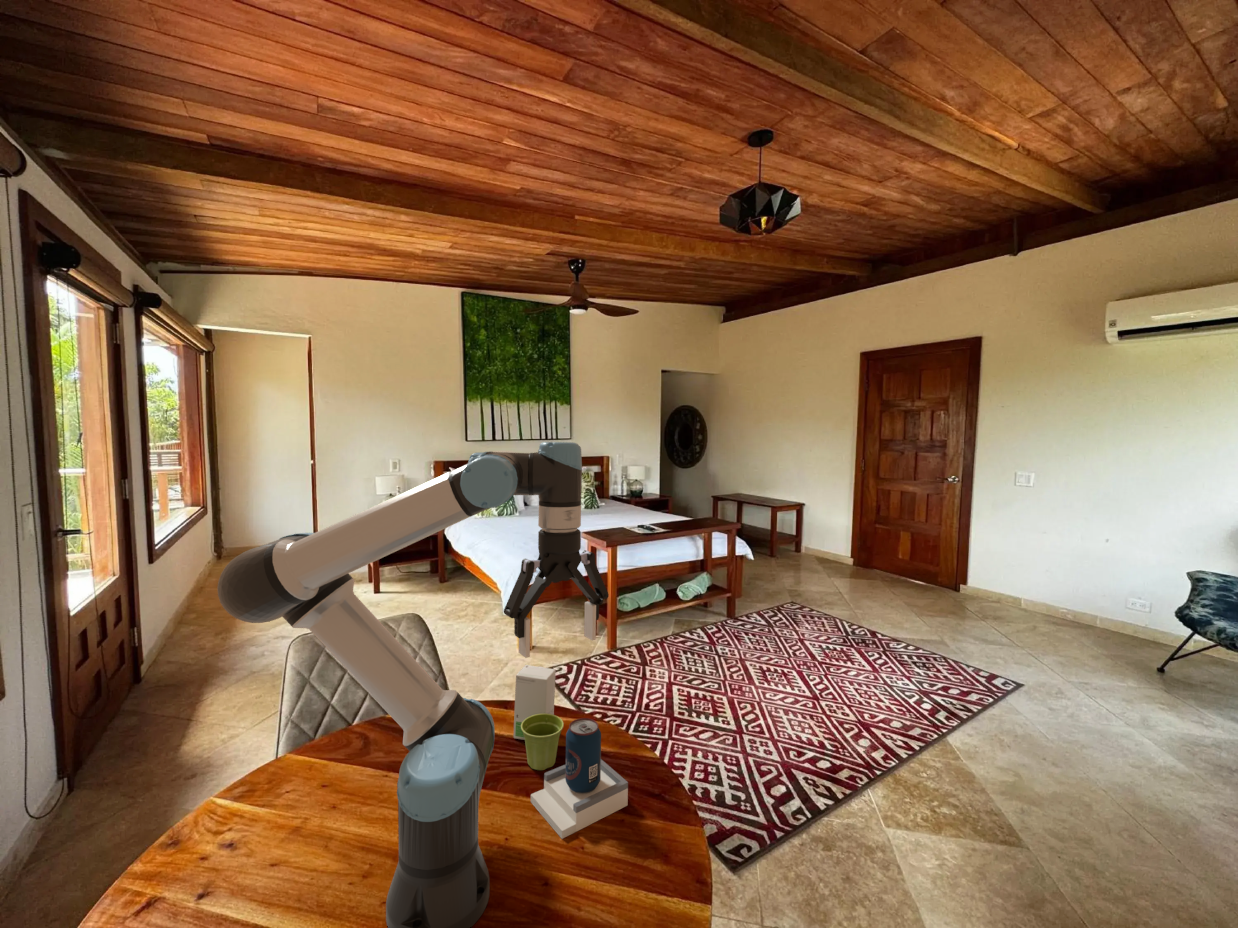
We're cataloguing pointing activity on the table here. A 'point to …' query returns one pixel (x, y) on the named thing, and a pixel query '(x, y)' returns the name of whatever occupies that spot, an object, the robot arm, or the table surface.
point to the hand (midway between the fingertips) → (558, 646)
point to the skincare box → (533, 695)
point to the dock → (579, 800)
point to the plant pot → (541, 739)
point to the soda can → (583, 755)
